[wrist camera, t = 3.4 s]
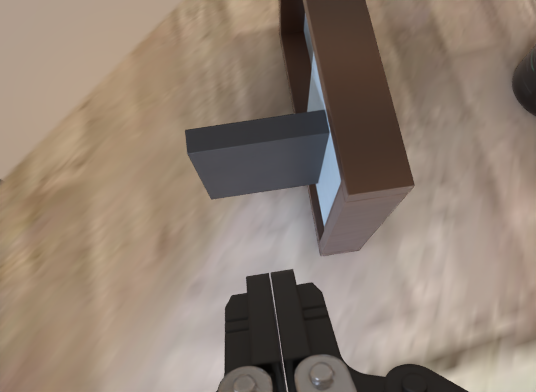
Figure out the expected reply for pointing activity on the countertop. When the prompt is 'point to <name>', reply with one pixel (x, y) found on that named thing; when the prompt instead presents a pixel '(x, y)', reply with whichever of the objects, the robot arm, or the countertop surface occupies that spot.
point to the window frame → (347, 115)
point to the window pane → (270, 153)
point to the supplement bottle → (526, 82)
